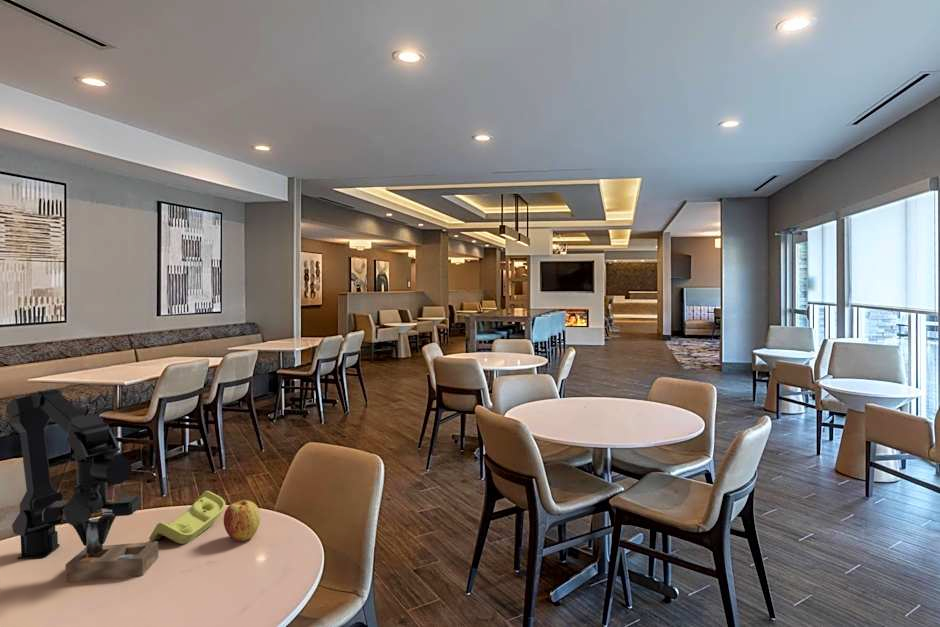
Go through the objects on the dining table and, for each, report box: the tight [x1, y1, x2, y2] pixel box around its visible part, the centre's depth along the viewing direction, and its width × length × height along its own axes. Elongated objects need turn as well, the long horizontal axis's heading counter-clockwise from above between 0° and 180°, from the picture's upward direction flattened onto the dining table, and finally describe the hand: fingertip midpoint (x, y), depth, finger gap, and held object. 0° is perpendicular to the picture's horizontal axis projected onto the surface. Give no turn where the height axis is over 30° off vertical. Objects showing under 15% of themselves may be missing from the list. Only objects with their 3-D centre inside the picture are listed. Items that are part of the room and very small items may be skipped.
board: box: [64, 540, 159, 583], centre depth 131 cm, size 16×9×4 cm, turn 99°
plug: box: [85, 517, 104, 554], centre depth 130 cm, size 3×3×7 cm
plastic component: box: [149, 490, 226, 545], centre depth 154 cm, size 20×7×10 cm
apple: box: [223, 499, 261, 542], centre depth 147 cm, size 9×9×10 cm
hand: (94, 544), depth 130 cm, fingers closed on plug, 3 cm apart
